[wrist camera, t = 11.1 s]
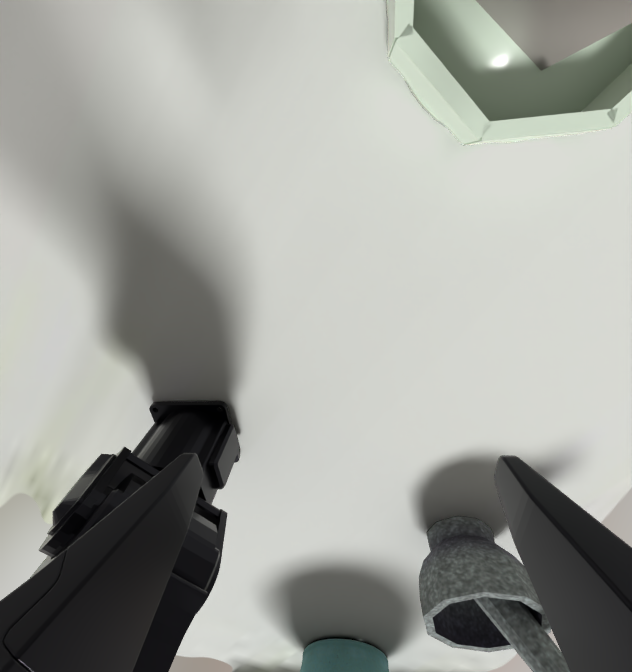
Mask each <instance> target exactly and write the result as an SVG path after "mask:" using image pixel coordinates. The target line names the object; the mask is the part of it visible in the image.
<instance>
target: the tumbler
mask: <svg viewBox="0 0 632 672" xmlns="http://www.w3.org/2000/svg"><path fill="white" fill-rule="evenodd" d="M476 1H477V2H478V3H479V5H480V6H481V7H482V8H483V9H484V10H485V11H486V12H487V13H488V14H489V15H490V16H491V17H492V19H493V20H494V21H495V22H496V23H497V24H498V25H499V26H500V27H501V28H502V29H503V30H504V31H505V32H506V34H507V35H508V36H509V37H510V38H511V39H512V40H513V41H514V42H515V43H516V44H517V45H518V46H519V47H520V49H521V50H522V51H523V52H524V53H525V54H526V55H527V56H528V57H529V58H530V59H531V60H532V61H533V63H534V64H535V65H536V66H537V67H538V68H539V69H540V70H541V71H542V70H544V69H546V68H548V67H549V66H551V65H553V64H555V63H557V62H559V61H561V60H563V59H565V58H566V57H568V56H570V55H572V54H574V53H576V52H578V51H580V50H582V49H584V48H585V47H587V46H589V45H591V44H593V43H595V42H597V41H599V40H601V39H602V38H604V37H606V36H608V35H610V34H612V33H614V32H616V31H618V30H619V29H621V28H623V27H625V26H627V25H629V24H631V23H632V0H476Z"/></svg>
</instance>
